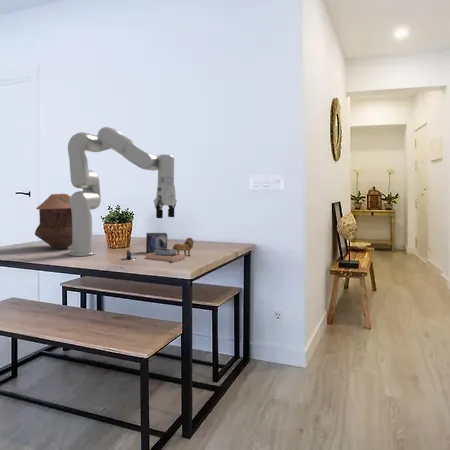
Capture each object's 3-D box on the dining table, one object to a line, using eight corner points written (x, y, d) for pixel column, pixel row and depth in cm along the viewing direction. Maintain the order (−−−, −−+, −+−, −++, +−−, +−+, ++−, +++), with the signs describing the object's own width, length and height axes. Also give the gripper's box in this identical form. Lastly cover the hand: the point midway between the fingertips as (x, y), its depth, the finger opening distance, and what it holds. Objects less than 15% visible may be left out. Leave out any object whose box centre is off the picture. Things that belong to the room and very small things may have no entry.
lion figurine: (188, 254, 212) (188, 236, 211) (196, 255, 208) (196, 237, 208) (167, 257, 201) (167, 239, 200) (175, 258, 197) (175, 240, 196)
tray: (145, 259, 193) (145, 254, 193) (158, 256, 202) (158, 251, 202) (172, 262, 186) (173, 257, 186) (184, 259, 196) (184, 254, 195)
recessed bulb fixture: (169, 259, 190) (169, 251, 190) (154, 258, 194) (154, 249, 193) (176, 258, 195) (176, 249, 195) (161, 256, 199) (161, 248, 198)
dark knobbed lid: (117, 260, 188) (117, 251, 188) (127, 258, 195) (127, 249, 194) (129, 261, 185) (129, 252, 185) (139, 259, 192) (139, 250, 191)
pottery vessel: (93, 245, 237) (92, 193, 234) (72, 251, 212) (71, 194, 209) (50, 244, 239) (50, 193, 237) (25, 250, 214) (24, 193, 212)
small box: (146, 254, 209) (146, 234, 208) (145, 252, 215) (145, 232, 214) (167, 253, 212) (167, 233, 211) (165, 251, 218) (166, 232, 217)
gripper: (161, 180, 182) (161, 218, 183) (182, 182, 197) (181, 217, 199) (148, 180, 185) (147, 218, 186) (169, 181, 201) (168, 216, 202)
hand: (165, 217), depth 193 cm, fingers open, 9 cm apart
